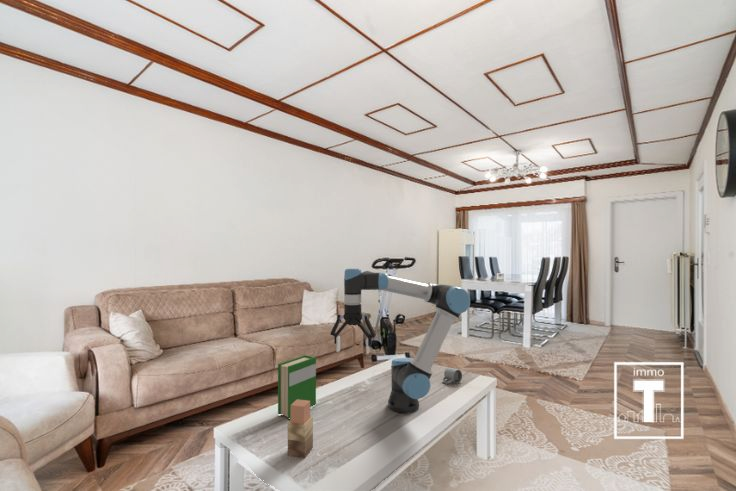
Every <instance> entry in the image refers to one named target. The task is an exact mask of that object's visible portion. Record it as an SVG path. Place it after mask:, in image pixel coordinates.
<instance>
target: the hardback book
mask: <svg viewBox="0 0 736 491" xmlns="http://www.w3.org/2000/svg"><path fill="white" fill-rule="evenodd" d="M297 399H299V400H307V401H310V407H311V406H313V405H315V404H316V405H317V357H316V356H312V355H306V354H303V355H301V356H298V357H296V358H292V359H289V360H286V361H283V362H280V363H278V364H277V415H278V414H283V415H285V416H287V417H286V418H287V419H288V418H290V411H291V404H292V403H294V402H295V401H296V400H297ZM283 415H282V416H283ZM285 416H284V417H285Z"/></svg>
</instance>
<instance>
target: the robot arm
mask: <svg viewBox="0 0 736 491" xmlns="http://www.w3.org/2000/svg"><path fill="white" fill-rule="evenodd" d="M343 282H344V283H343V285H344V288H343V290H344V291H343V292H344V296H343V297H344V298H343V299H344V310H343V311H344V314H342V313H338V314H337V316H336V320H335V323H334V325H333V327H332V329H331V332H330V334H329V335H330V336H334V344H335V345H336V353H339V352H340V351H341V336H340V335H341V333H342V331H343V330H344V329H345V328H346V326H355V327H356V326H358V328H360V330H361V331H362V333H363V334H364V335H365V336H366V339H365V345H366V346H365V348H366V350H365V351H366V352H365V354H366V355H369V354H370V352H371V351H370V348H371V346H372V345H373V340H372V339H373V338H375V337H376V336H377V334H376V332H375V330H374V327H373V325H372V324H371V322H370V318H369V314H365V315H362V290H363V291H367V290H370V291H371V290H373V291H375V290H377V291H378V290H379V291H384V292H389V293H393V294H398V295H402V296H406V297H411V298H414V299H415V298H416V299H420V300H423V301H424V302H425V303H429V304H433V305H435V308H434V309H435V311H436V312H435V315H434V317H433V319H432V321H431V322H430V325H429V327H428V328H427V329H428V330H427V331H426V333H425V335H424V338H423V339H422V341H421V344H420V346H419V348H418V350H417V352H416V354H415V356H414V358H410V357H398V358H395V359H392V360H391V366H390V368H391V376H390V377H391V389H390V390H391V391H390V394H389V397H388V401H387V407H388V409H389V410H391V411H393V412H396V413H401V414H402V413H404V414H406V413H407V414H408V413H409V414H410V413H413V412H416V411H418V410H419V408H420V401H419V400H420V399H423V398H425V396H427V395H428V394H429V393H430V389H431V381H430V379H431V377H432V376H433V371H432V367H433V365H434V363H435V360H436V358H437V356H438V354H439V352H440V350H441V348H442V346H443V344H444V342H445V340H446V338H447V336H448V334H449V332H450V329H451V327H452V325H453V323H454V321H456V320H457V321H458V320H459V318H460V316H461V314H463V313H465V312H466V311H468V309H469V307H470V305H471V297H470V294H469V292H468V291H467V290H466V289H464V288H463V287H460V286H456V285H450V284H442V283H441V284H439V283H431V282H427V283H422V282H418V281H413V280H409V279H406V278H405V279H404V278H400V277H396V276H391V275H388V274H387V273H386V272H372V271H371V270H370V271H369V270H364V271H362V269H361V268H346V269H344V278H343ZM342 320H344V322H343V323H342V324H341V326H340V327H339V325H340V323H341V321H342ZM362 320H363V321H364V322H365V324H366V326H365V325H364V323H363V322H362ZM338 327H339V328H338ZM337 329H338V330H337Z"/></svg>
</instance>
